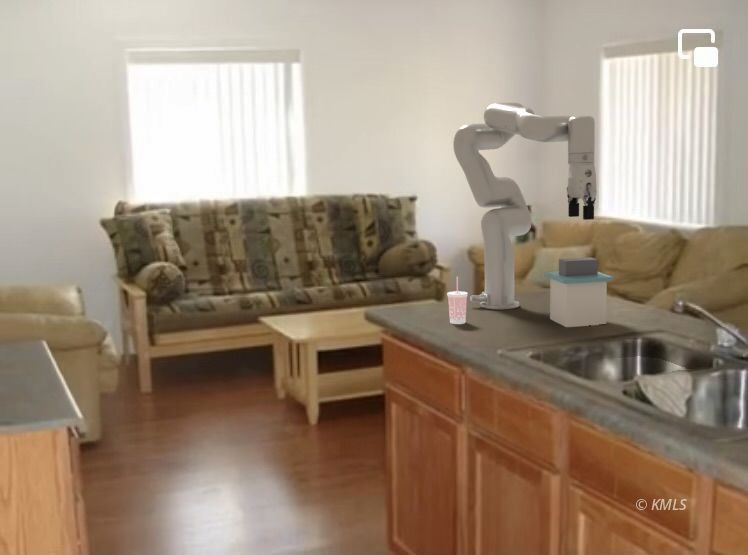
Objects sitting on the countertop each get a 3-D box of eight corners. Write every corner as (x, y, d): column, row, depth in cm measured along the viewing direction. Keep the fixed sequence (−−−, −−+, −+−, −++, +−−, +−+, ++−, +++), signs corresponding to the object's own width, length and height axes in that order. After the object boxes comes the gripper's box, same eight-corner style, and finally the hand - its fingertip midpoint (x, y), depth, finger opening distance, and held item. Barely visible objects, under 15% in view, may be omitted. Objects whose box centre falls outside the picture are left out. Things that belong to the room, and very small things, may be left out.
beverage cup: (471, 321, 301) (470, 275, 299) (463, 325, 296) (462, 278, 293) (452, 319, 304) (451, 274, 301) (444, 323, 298) (443, 277, 296)
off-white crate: (566, 327, 290) (566, 282, 287) (550, 319, 302) (550, 276, 299) (606, 324, 292) (606, 280, 290) (588, 316, 304) (589, 274, 302)
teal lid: (563, 286, 286) (564, 264, 285) (544, 278, 301) (544, 257, 300) (612, 283, 289) (613, 261, 288) (591, 275, 304) (591, 254, 302)
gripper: (606, 159, 282) (606, 219, 285) (580, 157, 299) (579, 214, 302) (582, 160, 281) (582, 221, 283) (556, 158, 297) (556, 216, 300)
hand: (581, 217), depth 293 cm, fingers open, 9 cm apart
